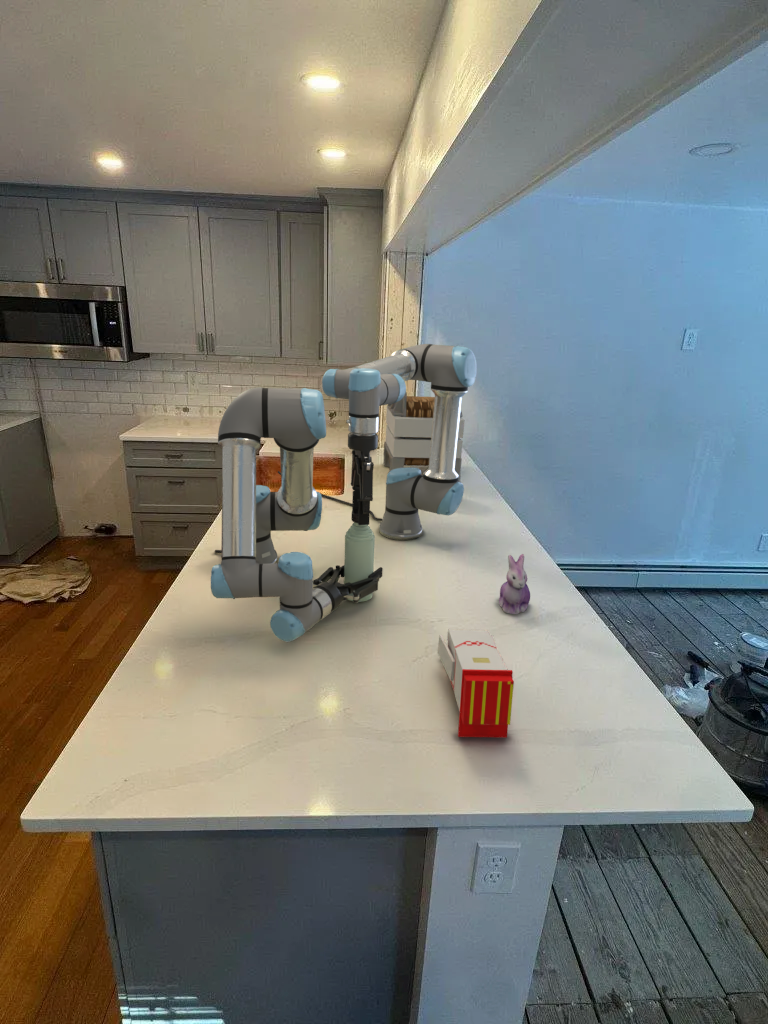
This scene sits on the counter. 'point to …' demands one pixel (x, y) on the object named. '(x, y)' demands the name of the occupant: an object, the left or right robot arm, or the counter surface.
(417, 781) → the counter surface
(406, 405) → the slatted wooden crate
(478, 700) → the toy
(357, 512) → the cap
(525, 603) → the figurine
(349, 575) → the bottle
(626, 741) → the counter surface
